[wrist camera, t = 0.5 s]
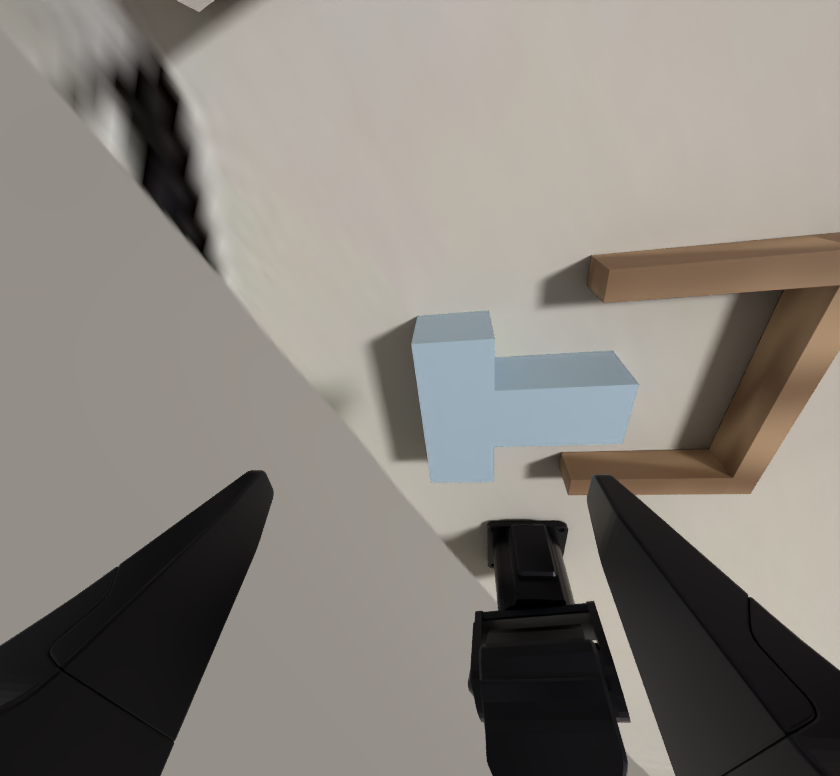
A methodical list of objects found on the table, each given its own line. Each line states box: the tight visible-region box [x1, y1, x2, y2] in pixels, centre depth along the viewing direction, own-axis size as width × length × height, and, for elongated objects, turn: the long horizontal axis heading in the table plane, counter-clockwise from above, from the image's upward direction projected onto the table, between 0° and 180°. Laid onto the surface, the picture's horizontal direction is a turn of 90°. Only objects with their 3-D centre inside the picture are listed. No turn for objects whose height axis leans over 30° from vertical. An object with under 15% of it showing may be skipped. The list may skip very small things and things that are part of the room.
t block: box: [411, 311, 639, 483], centre depth 21 cm, size 10×11×4 cm
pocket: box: [559, 232, 840, 495], centre depth 20 cm, size 15×11×2 cm
